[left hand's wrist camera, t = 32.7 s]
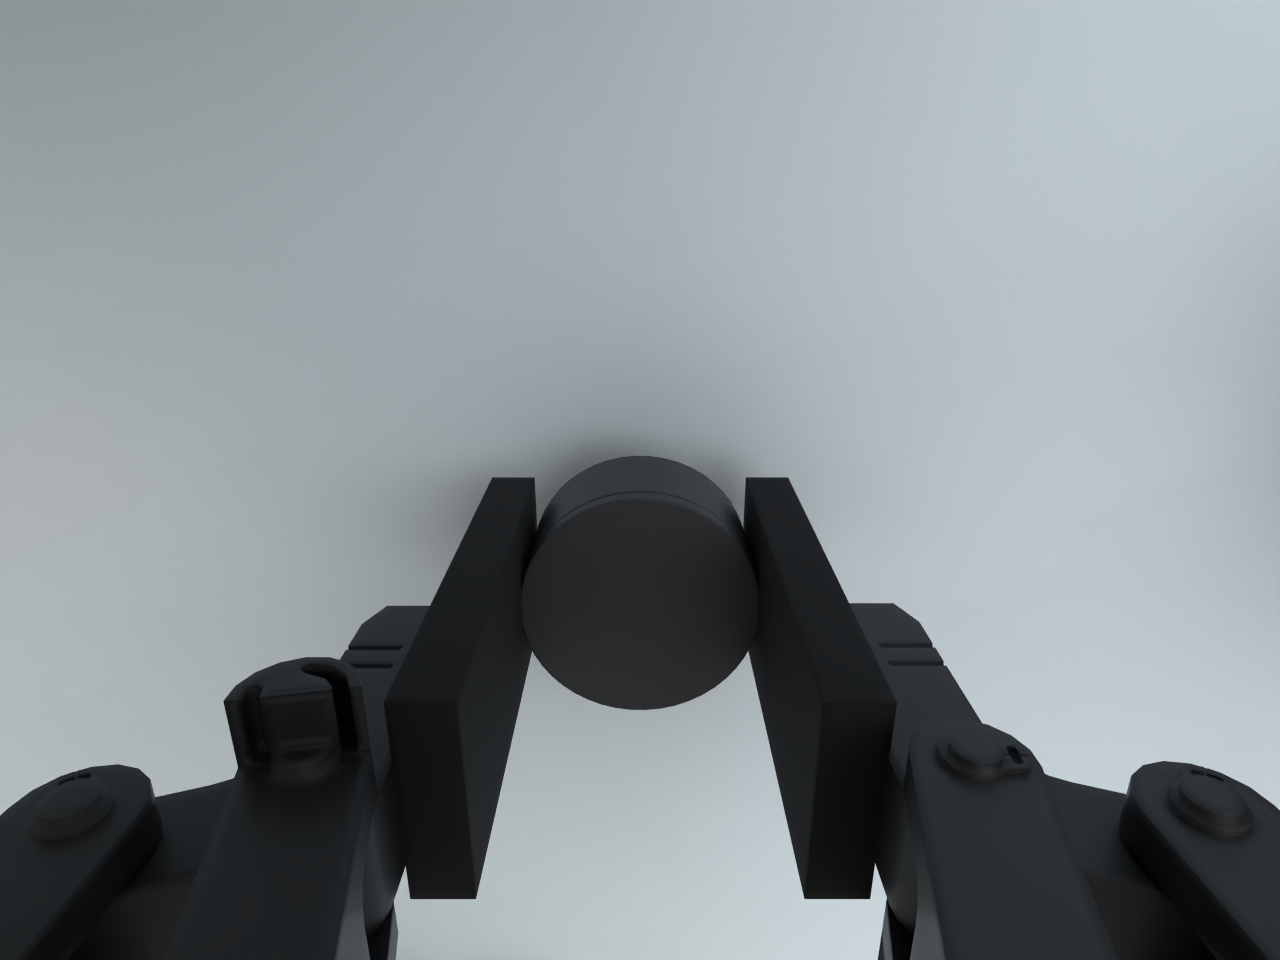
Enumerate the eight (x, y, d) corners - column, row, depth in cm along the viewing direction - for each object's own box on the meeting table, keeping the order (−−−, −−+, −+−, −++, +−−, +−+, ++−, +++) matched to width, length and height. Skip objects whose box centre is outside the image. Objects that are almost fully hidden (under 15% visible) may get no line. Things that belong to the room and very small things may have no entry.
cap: (503, 490, 14) (482, 539, 12) (712, 427, 14) (723, 467, 12) (576, 667, 16) (567, 735, 14) (768, 613, 15) (787, 676, 13)
